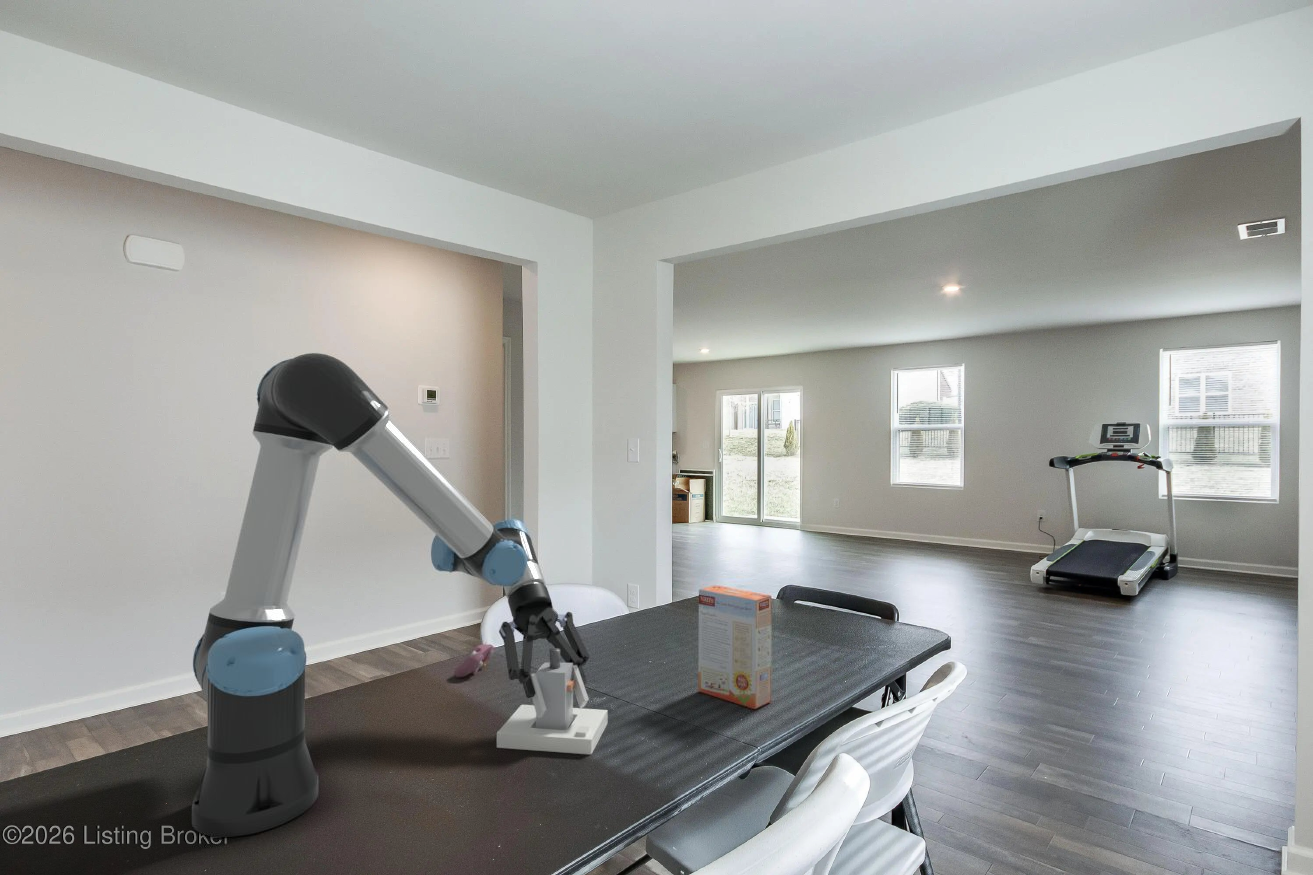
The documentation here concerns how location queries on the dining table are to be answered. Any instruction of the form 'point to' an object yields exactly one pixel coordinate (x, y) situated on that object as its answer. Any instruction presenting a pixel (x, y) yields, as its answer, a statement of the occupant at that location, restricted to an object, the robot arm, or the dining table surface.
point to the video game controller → (475, 660)
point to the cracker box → (735, 645)
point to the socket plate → (553, 732)
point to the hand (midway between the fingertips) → (563, 708)
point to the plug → (556, 692)
